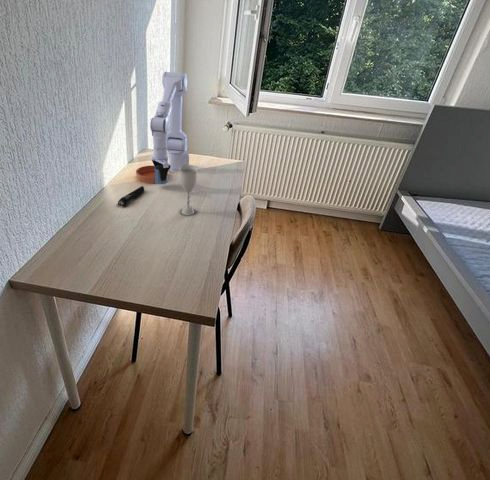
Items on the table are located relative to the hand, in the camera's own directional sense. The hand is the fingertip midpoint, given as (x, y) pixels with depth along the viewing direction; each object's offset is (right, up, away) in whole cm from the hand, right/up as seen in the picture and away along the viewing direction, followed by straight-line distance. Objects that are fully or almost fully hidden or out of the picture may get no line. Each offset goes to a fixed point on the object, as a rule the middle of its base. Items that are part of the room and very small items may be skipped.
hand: (161, 177), depth 151 cm
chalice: (+12, -16, -14) cm, 25 cm away
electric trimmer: (-12, -10, -7) cm, 17 cm away
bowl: (-6, +2, +12) cm, 13 cm away
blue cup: (0, -2, +1) cm, 2 cm away
